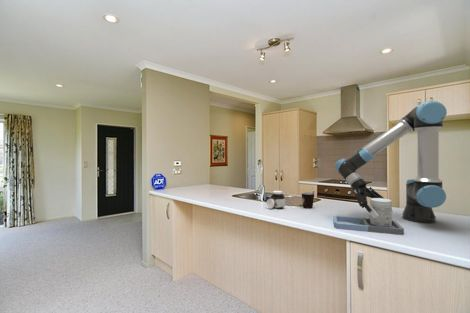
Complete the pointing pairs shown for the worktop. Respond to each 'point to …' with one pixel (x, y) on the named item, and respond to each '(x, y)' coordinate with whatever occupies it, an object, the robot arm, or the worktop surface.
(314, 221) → the worktop surface
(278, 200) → the spread jar
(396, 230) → the bay frame
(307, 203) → the coffee mug
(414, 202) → the robot arm
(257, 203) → the worktop surface
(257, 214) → the worktop surface
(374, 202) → the supplement tub
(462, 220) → the worktop surface
